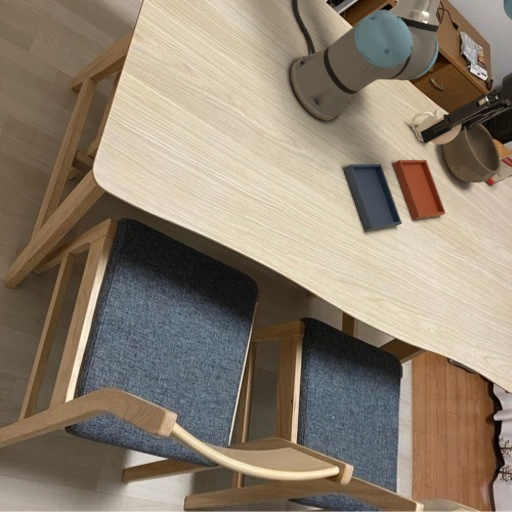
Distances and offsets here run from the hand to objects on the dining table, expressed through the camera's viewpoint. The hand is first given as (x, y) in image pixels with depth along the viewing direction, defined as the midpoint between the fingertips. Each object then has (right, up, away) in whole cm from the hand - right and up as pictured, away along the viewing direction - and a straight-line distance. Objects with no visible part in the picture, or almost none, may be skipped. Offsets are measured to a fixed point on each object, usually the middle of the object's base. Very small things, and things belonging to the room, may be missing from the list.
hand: (430, 137), depth 129 cm
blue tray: (-13, -13, +4) cm, 19 cm away
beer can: (+32, -2, +49) cm, 59 cm away
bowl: (+18, +1, +37) cm, 41 cm away
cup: (+5, +7, +28) cm, 30 cm away
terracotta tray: (+2, -10, +18) cm, 21 cm away
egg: (0, 0, 0) cm, 1 cm away
